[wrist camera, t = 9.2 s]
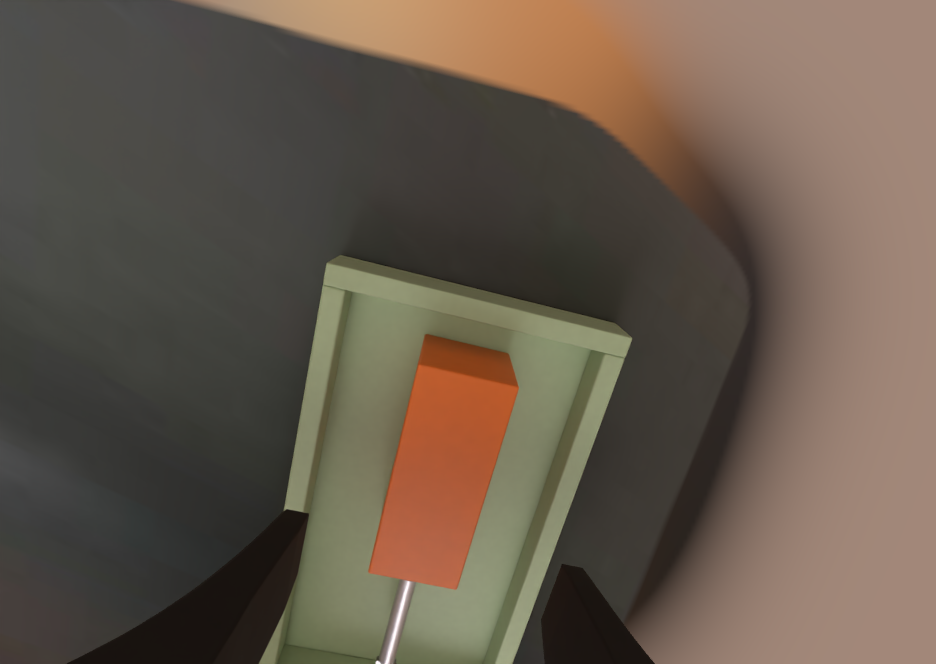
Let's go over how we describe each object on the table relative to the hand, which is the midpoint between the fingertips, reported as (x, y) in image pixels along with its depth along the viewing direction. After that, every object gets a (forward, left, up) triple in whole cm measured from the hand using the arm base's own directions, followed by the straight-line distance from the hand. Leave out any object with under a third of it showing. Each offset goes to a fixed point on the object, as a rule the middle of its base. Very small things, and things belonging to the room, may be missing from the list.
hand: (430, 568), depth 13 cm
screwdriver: (-3, +1, -7) cm, 8 cm away
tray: (-3, +1, -8) cm, 8 cm away
